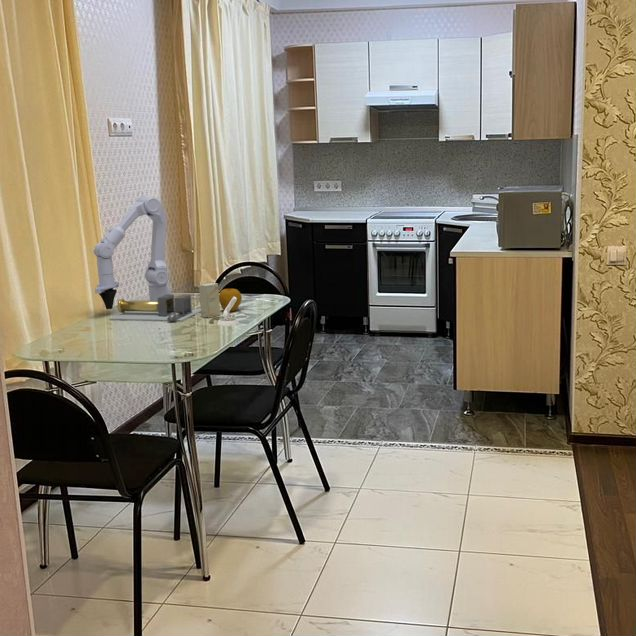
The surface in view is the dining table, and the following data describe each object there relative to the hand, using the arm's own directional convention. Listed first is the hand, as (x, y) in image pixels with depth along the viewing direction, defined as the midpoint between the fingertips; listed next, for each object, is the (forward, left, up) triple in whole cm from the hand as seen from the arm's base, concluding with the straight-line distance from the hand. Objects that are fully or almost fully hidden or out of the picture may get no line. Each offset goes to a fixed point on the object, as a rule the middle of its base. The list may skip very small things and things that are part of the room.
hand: (109, 308), depth 320 cm
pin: (0, +15, -2) cm, 15 cm away
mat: (0, +20, -2) cm, 20 cm away
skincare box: (-1, +42, -3) cm, 42 cm away
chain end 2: (+4, +32, -2) cm, 32 cm away
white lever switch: (+11, +54, -3) cm, 55 cm away
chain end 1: (-4, +24, -2) cm, 25 cm away
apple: (-11, +46, -3) cm, 47 cm away
